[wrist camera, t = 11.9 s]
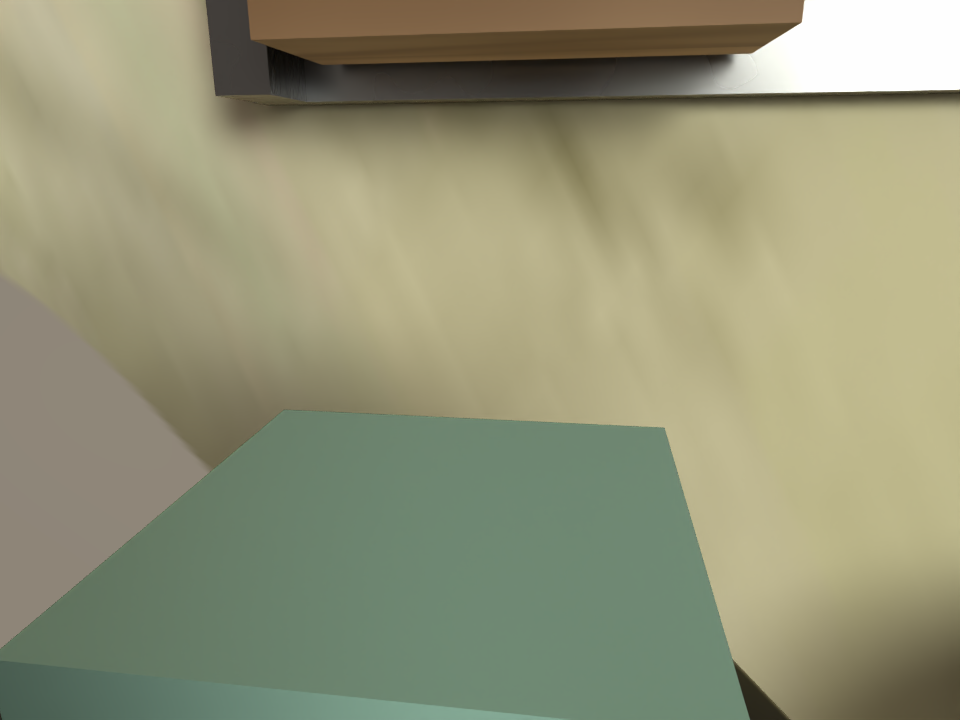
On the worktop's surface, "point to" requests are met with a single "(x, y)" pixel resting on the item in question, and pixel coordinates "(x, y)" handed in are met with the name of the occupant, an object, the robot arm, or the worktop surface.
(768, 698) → the robot arm
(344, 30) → the wooden crate tray
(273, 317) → the worktop surface
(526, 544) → the teal block
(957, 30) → the grey flat slab
